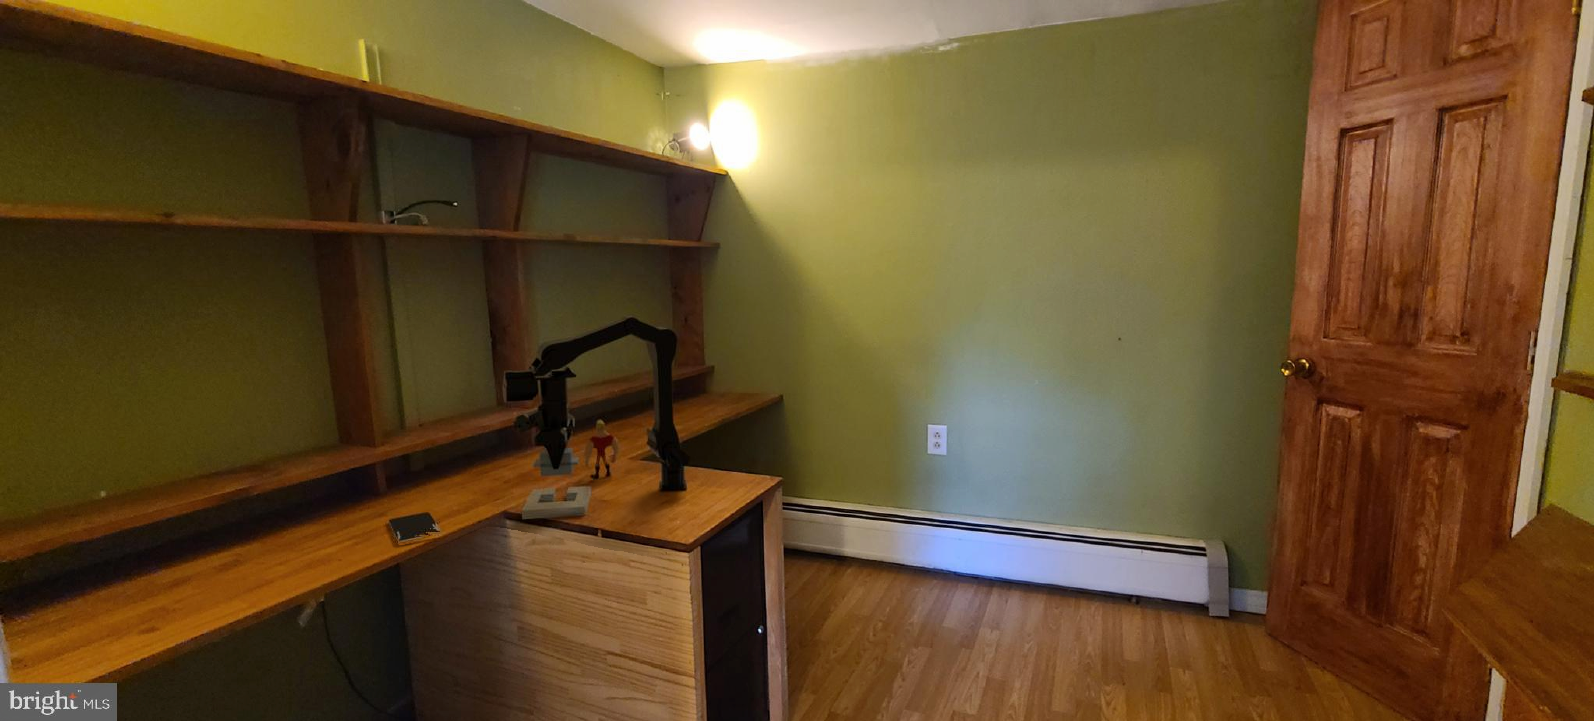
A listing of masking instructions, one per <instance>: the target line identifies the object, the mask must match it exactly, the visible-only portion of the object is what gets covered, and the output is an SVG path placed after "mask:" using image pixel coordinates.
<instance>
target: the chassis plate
mask: <svg viewBox="0 0 1594 721" xmlns="http://www.w3.org/2000/svg"><path fill="white" fill-rule="evenodd" d="M591 488H592V487H591V485H586V486H585V485H584V486H570V487H569V486H568V489H567V490H566V501H563V500H562V501H555V499H556V487H552V488H551V487H549V488H548V487H547V488H533V489H532V491H531V493H530V494H529V496H528V498H527V500H526V502H525V504H524V506H523V507H522V509H521V519H522V520H527V519H528V520H533V519H546V518H561V517H562V518H563V517H564V518H567V517H577V516H578V517H579V516H580V517H581V516H585V515H586V513H587V509H588V505H589V502H590V498H591V495H592V492H591V491H592V489H591Z"/></svg>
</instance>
